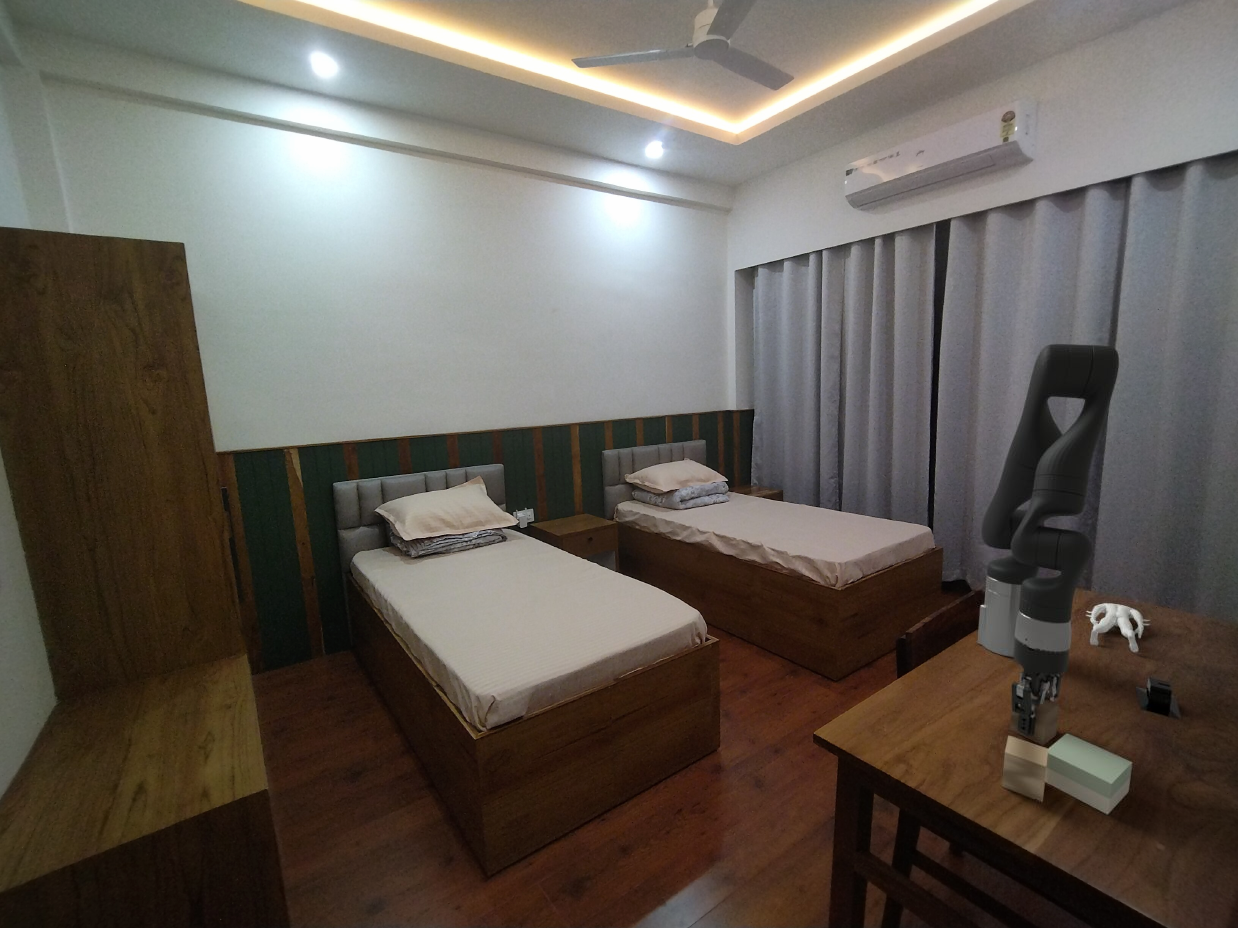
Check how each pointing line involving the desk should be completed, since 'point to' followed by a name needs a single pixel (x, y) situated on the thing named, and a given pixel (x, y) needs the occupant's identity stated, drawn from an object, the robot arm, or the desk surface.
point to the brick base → (1088, 772)
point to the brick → (1025, 768)
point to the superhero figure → (1116, 622)
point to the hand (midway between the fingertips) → (1033, 727)
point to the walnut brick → (1040, 722)
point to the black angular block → (1158, 698)
